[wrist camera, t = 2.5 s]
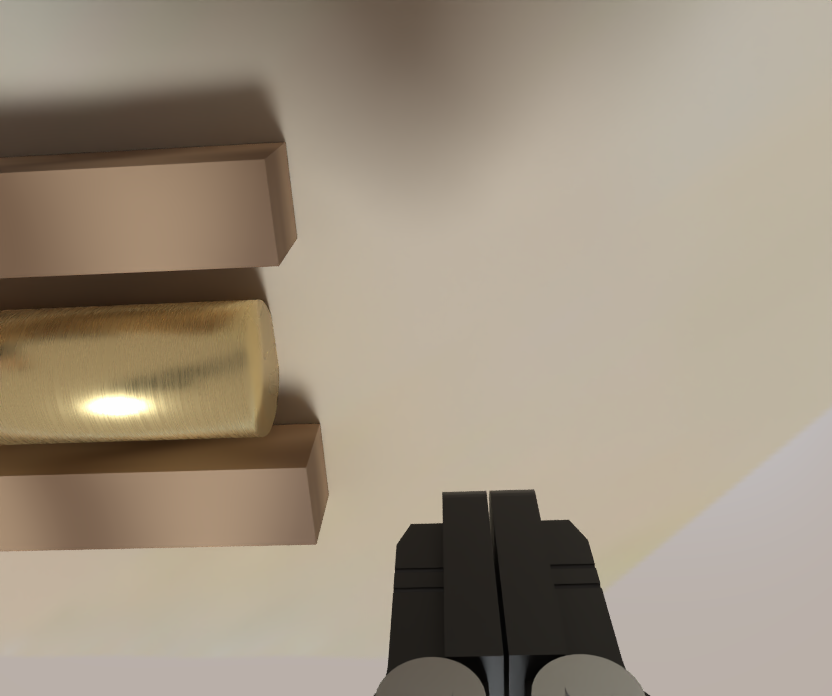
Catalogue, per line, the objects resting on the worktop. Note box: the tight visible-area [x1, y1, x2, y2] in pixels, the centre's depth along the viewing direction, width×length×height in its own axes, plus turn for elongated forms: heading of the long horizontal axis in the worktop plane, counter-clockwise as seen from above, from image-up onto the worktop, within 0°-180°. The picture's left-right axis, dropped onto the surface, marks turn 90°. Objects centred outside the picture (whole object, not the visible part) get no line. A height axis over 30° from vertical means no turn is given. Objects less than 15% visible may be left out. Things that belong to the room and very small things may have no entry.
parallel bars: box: [0, 142, 329, 551], centre depth 21 cm, size 12×11×2 cm
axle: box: [0, 300, 279, 445], centre depth 21 cm, size 10×4×4 cm, turn 93°
